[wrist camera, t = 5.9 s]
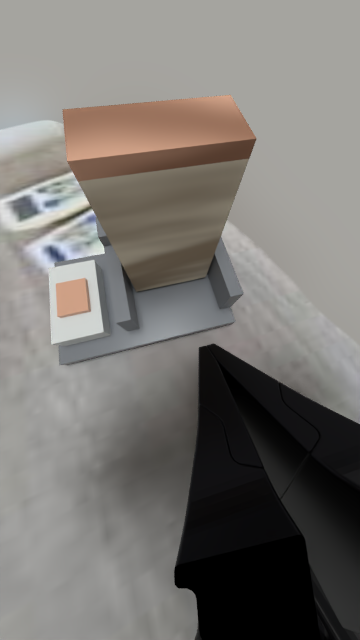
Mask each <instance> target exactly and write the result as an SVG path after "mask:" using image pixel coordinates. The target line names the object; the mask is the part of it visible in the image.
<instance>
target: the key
mask: <svg viewBox="0 0 360 640" xmlns="http://www.w3.org/2000/svg"><path fill="white" fill-rule="evenodd" d="M63 120H64V131H65V142H66V153H67V162H68V164H69V165H70V167H71V169H72V171H73V173H74V175H75V177H76V179H77V181H78V182H79V184H80V186H81V188H82V190H83V192H84V194H85V196H86V198H87V199H88V201H89V203H90V205H91V207H92V209H93V211H94V213H95V215H96V216H97V218H98V220H99V222H100V224H101V226H102V228H103V230H104V232H105V233H106V235H107V237H108V239H109V241H110V243H111V245H112V247H113V249H114V250H115V252H116V254H117V256H118V258H119V260H120V262H121V264H122V266H123V267H124V269H125V271H126V273H127V275H128V277H129V279H130V281H131V283H132V284H133V286H134V288H135V290H136V292H138V291H143V290H148V289H152V288H157V287H162V286H167V285H171V284H176V283H181V282H186V281H190V280H195V279H200V278H204V277H206V275H207V272H208V270H209V267H210V264H211V261H212V259H213V256H214V253H215V250H216V248H217V245H218V242H219V240H220V237H221V234H222V231H223V229H224V226H225V223H226V220H227V218H228V215H229V212H230V210H231V207H232V204H233V201H234V199H235V196H236V193H237V190H238V188H239V185H240V182H241V180H242V177H243V174H244V171H245V168H246V166H247V163H248V160H249V157H250V155H251V152H252V149H253V146H254V144H255V141H256V137H255V135H254V134H253V132H252V130H251V129H250V127H249V125H248V124H247V122H246V120H245V119H244V117H243V115H242V113H241V112H240V110H239V109H238V107H237V106H236V103H235V102H234V100H233V98H232V97H231V95H225V96H214V97H202V98H190V99H179V100H168V101H156V102H144V103H133V104H121V105H111V106H110V105H109V106H99V107H87V108H75V109H64V110H63Z"/></svg>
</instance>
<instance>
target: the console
mask: <svg viewBox="0 0 360 640" xmlns="http://www.w3.org/2000/svg"><path fill="white" fill-rule="evenodd" d="M96 224H97V231H98V237H99V239H100V241H101V242H102V244H103V246H104V250H105V254H101V255H95V256H90V257H84V258H79V259H73V260H68V261H62V262H57V263H55V267H52V268H49V290H50V317H51V344H53V345H59V364H60V365H69V364H73V363H77V362H81V361H85V360H89V359H93V358H97V357H101V356H105V355H109V354H113V353H117V352H121V351H125V350H129V349H133V348H137V347H141V346H145V345H149V344H154V343H158V342H162V341H166V340H170V339H174V338H178V337H182V336H186V335H190V334H194V333H198V332H202V331H206V330H210V329H214V328H218V327H222V326H226V325H230V324H232V323H234V322H235V319H234V316H233V313H232V311H231V308H230V307H231V306H232V305H233V304H234V303H235V302H236V301H237V300H238V299H239V298H240V297H241V296H242V295H243V294H244V293H243V291H242V288H241V286H240V283H239V281H238V278H237V276H236V273H235V271H234V268H233V266H232V263H231V261H230V258H229V256H228V253H227V251H226V248H225V246H224V243H223V241H222V238H221V237H220V240H219V242H218V245H217V248H216V250H215V253H214V256H213V259H212V261H211V264H210V267H209V270H208V272H207V275H206V277H204V278H200V279H195V280H190V281H186V282H181V283H176V284H171V285H167V286H162V287H157V288H152V289H148V290H143V291H138V292H136V290H135V288H134V286H133V284H132V283H131V281H130V279H129V277H128V275H127V273H126V271H125V269H124V267H123V266H122V264H121V262H120V260H119V258H118V256H117V254H116V252H115V250H114V249H113V247H112V245H111V243H110V241H109V239H108V237H107V235H106V233H105V232H104V230H103V228H102V226H101V224H100V222H99V220H98V218H97V217H96Z"/></svg>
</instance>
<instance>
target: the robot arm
mask: <svg viewBox="0 0 360 640" xmlns="http://www.w3.org/2000/svg"><path fill="white" fill-rule="evenodd" d="M174 578H175V585H176V586H177V587H178V588H187V589H190V590H192V591H193V592H194V594H195V595H196V599H197V610H198V629H197V634H196V637H195V640H360V424H358V423H356V422H354V421H352V420H350V419H348V418H346V417H344V416H342V415H340V414H338V413H336V412H334V411H332V410H330V409H328V408H326V407H324V406H322V405H320V404H318V403H316V402H314V401H313V400H311V399H309V398H307V397H305V396H303V395H301V394H300V393H298V392H296V391H294V390H292V389H291V388H289V387H287V386H285V385H284V384H282V383H280V382H279V383H278V381H277V380H275V379H273V378H272V377H270V376H268V375H267V374H265V373H263V372H262V371H260V370H258V369H256V368H255V367H253V366H251V365H250V364H248V363H246V362H245V361H243V360H241V359H239V358H238V357H236V356H234V355H233V354H231V353H229V352H227V351H226V350H224V349H222V348H221V347H219V346H217V345H216V344H211V345H207V346H202V347H199V382H198V428H197V438H196V447H195V454H194V461H193V469H192V476H191V483H190V490H189V497H188V504H187V511H186V516H185V522H184V527H183V532H182V537H181V542H180V547H179V551H178V556H177V560H176V565H175V570H174Z"/></svg>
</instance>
